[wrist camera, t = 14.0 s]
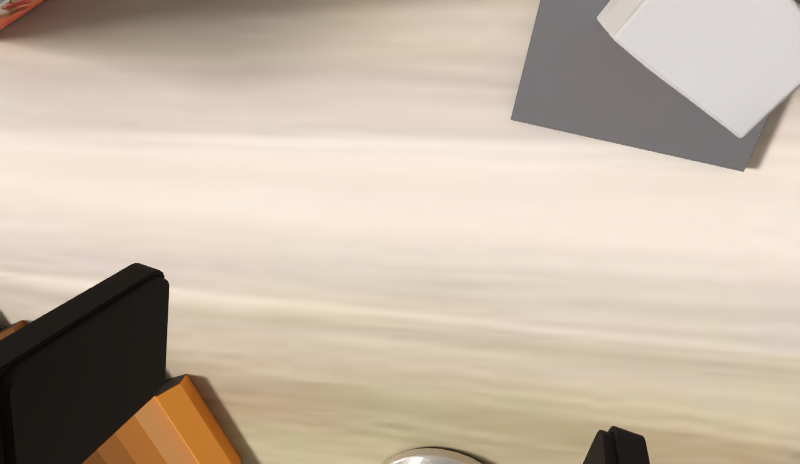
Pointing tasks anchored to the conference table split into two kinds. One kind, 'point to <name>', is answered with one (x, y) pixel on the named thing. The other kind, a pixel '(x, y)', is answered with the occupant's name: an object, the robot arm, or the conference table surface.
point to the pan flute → (165, 429)
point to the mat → (614, 92)
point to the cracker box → (15, 10)
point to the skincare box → (715, 51)
